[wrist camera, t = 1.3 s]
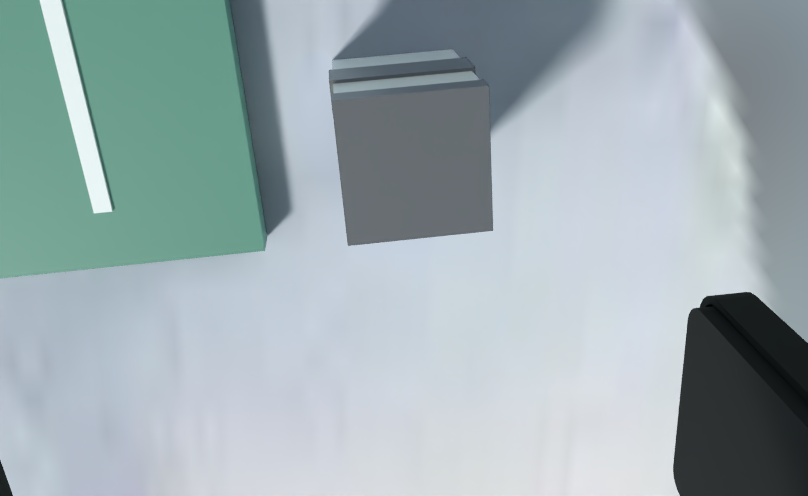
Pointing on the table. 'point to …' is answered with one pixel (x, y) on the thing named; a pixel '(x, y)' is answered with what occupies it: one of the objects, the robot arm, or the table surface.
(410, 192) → the plug
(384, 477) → the table surface
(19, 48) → the board
